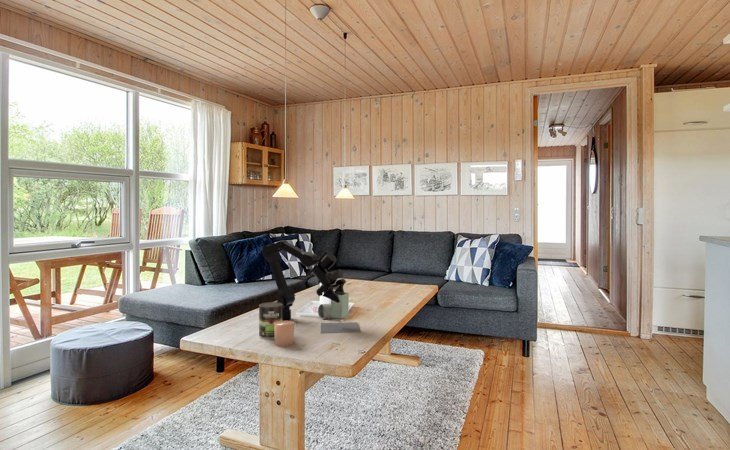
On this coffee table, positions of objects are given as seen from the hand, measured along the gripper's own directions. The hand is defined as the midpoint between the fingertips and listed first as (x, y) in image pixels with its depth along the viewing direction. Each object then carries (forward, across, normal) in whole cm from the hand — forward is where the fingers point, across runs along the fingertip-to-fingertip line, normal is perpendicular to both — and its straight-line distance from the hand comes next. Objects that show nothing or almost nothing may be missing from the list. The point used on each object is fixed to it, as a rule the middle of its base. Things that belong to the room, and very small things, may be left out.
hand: (342, 300), depth 190 cm
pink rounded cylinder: (+2, -30, +17) cm, 34 cm away
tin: (+4, 0, +6) cm, 8 cm away
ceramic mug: (-3, +14, +22) cm, 26 cm away
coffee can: (-6, -24, +26) cm, 36 cm away
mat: (+9, 0, +10) cm, 13 cm away
